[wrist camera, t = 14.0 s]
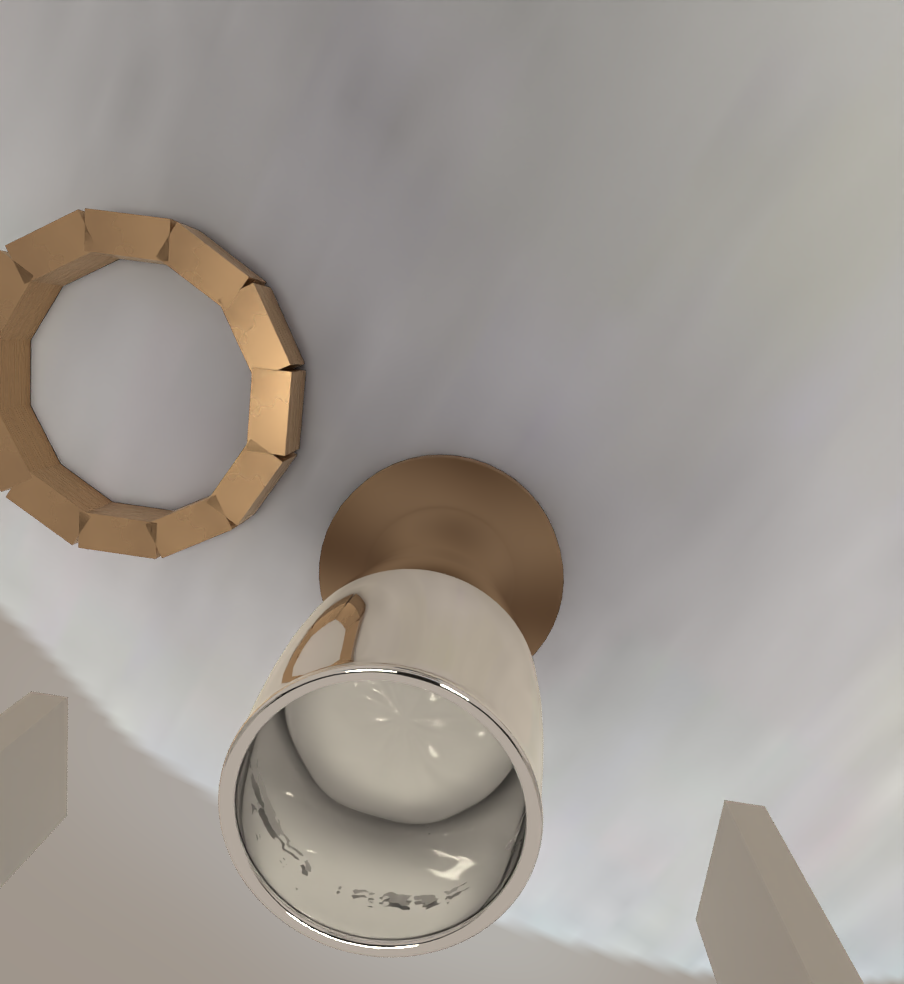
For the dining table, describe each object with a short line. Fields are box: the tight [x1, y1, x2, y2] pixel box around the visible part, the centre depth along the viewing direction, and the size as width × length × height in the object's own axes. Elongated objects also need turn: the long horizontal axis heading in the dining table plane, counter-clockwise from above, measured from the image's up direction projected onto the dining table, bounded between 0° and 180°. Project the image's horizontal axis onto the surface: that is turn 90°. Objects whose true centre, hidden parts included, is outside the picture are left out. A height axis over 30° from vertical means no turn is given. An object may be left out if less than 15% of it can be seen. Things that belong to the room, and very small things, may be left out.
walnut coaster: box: [319, 455, 564, 656], centre depth 29 cm, size 10×10×1 cm
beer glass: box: [218, 508, 543, 957], centre depth 21 cm, size 7×7×15 cm
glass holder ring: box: [0, 208, 306, 559], centre depth 28 cm, size 13×13×2 cm
